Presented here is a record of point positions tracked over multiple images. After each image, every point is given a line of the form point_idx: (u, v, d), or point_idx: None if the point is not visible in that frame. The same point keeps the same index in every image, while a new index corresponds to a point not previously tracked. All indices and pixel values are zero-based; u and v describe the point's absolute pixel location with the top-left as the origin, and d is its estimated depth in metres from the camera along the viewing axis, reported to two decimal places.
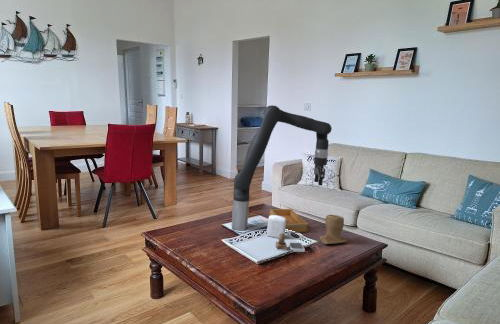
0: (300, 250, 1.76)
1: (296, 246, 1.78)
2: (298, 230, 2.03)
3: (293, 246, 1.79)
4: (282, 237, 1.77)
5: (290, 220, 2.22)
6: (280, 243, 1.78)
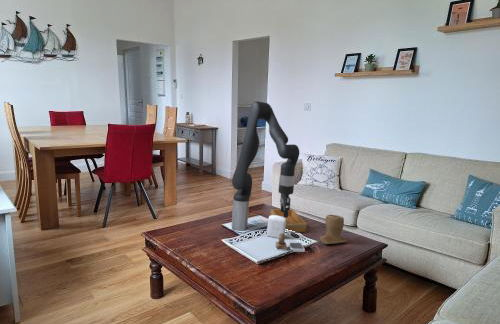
0: (300, 250, 1.76)
1: (296, 246, 1.78)
2: (297, 230, 2.03)
3: (293, 246, 1.79)
4: (282, 237, 1.77)
5: (290, 220, 2.22)
6: (280, 243, 1.78)
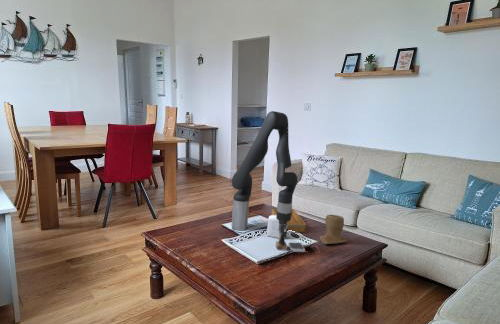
0: (300, 250, 1.76)
1: (296, 246, 1.78)
2: (296, 230, 2.03)
3: (293, 246, 1.79)
4: None
5: (291, 220, 2.22)
6: None
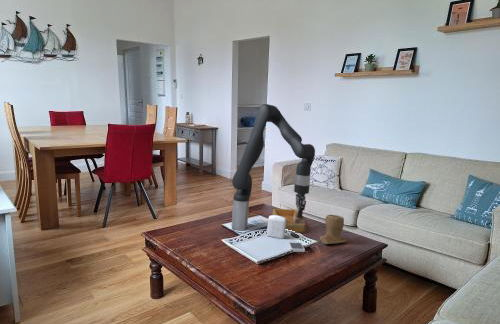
0: (300, 250, 1.76)
1: (296, 246, 1.78)
2: (295, 230, 2.02)
3: (293, 246, 1.79)
4: None
5: (291, 220, 2.21)
6: None
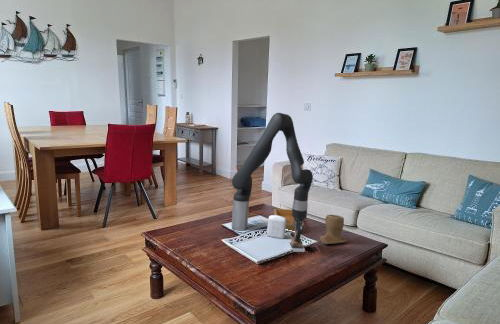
0: (300, 250, 1.76)
1: None
2: (293, 230, 2.02)
3: None
4: None
5: (292, 220, 2.21)
6: None
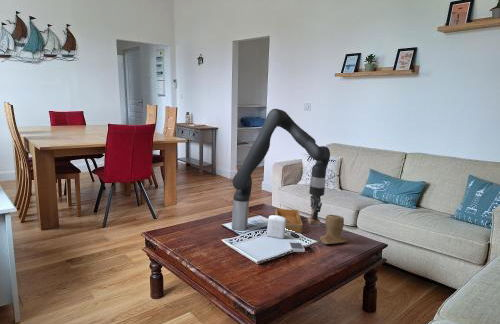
0: (300, 250, 1.76)
1: (296, 246, 1.78)
2: (292, 230, 2.02)
3: (293, 246, 1.79)
4: None
5: (292, 221, 2.21)
6: None
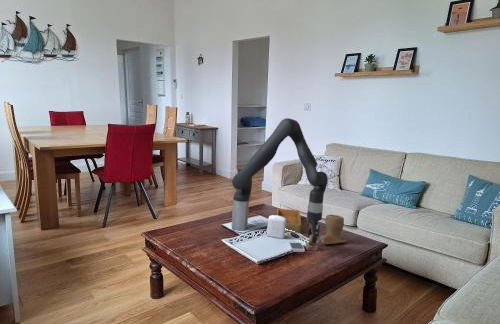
0: (300, 250, 1.76)
1: (296, 246, 1.78)
2: None
3: (293, 246, 1.79)
4: None
5: (292, 221, 2.21)
6: (310, 244, 1.79)
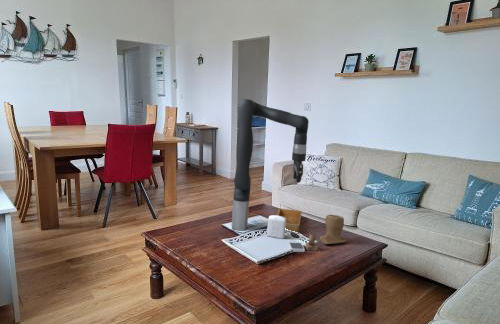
0: (300, 250, 1.76)
1: (296, 246, 1.78)
2: None
3: (293, 246, 1.79)
4: (312, 238, 1.78)
5: (293, 221, 2.20)
6: (310, 244, 1.79)
